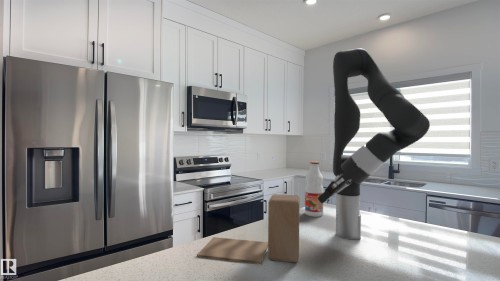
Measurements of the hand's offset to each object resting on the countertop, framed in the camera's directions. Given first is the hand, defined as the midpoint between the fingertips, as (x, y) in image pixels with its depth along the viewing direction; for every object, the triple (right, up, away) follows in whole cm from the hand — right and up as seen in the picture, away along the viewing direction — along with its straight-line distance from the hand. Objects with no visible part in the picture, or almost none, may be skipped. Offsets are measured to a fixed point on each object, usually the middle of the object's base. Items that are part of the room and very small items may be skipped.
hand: (320, 200), depth 82 cm
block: (-10, -21, +7) cm, 24 cm away
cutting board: (-28, -20, +11) cm, 36 cm away
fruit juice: (+12, -21, +57) cm, 61 cm away
